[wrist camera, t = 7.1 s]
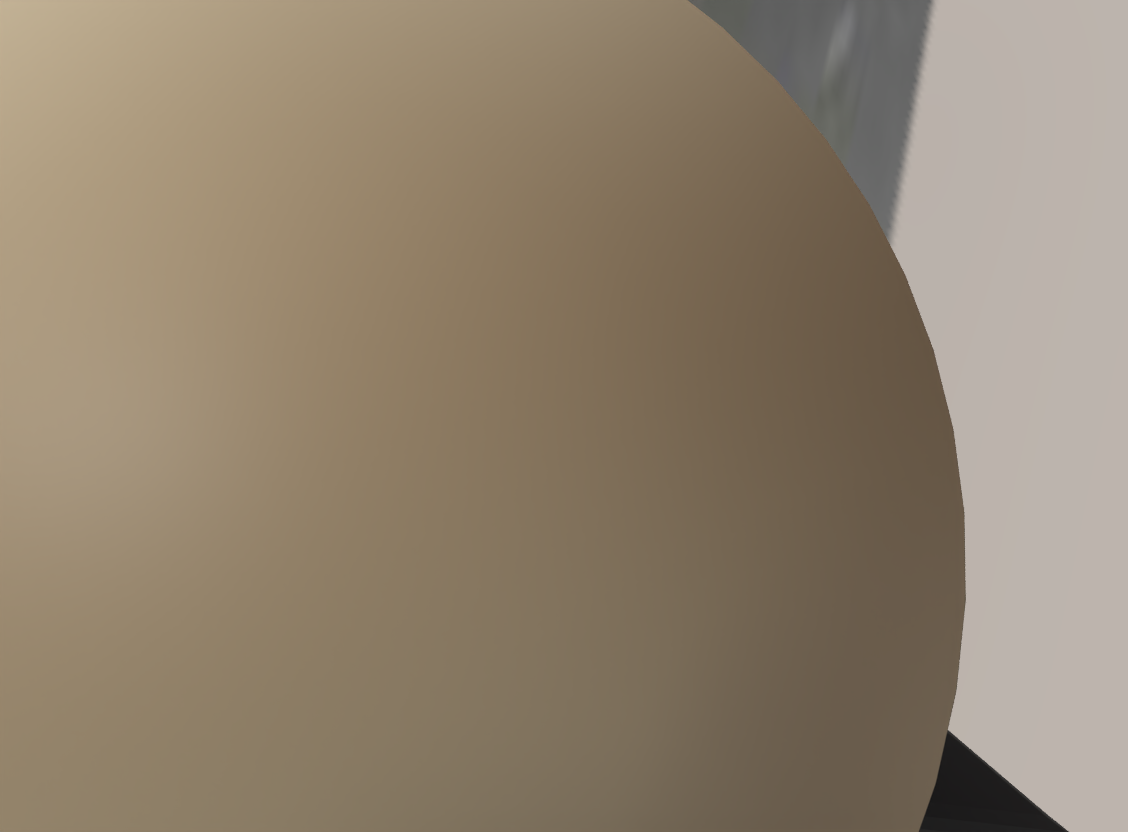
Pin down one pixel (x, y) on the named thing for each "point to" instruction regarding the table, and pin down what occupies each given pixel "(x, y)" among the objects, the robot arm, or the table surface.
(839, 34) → the table surface
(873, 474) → the maple dowel
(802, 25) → the table surface
